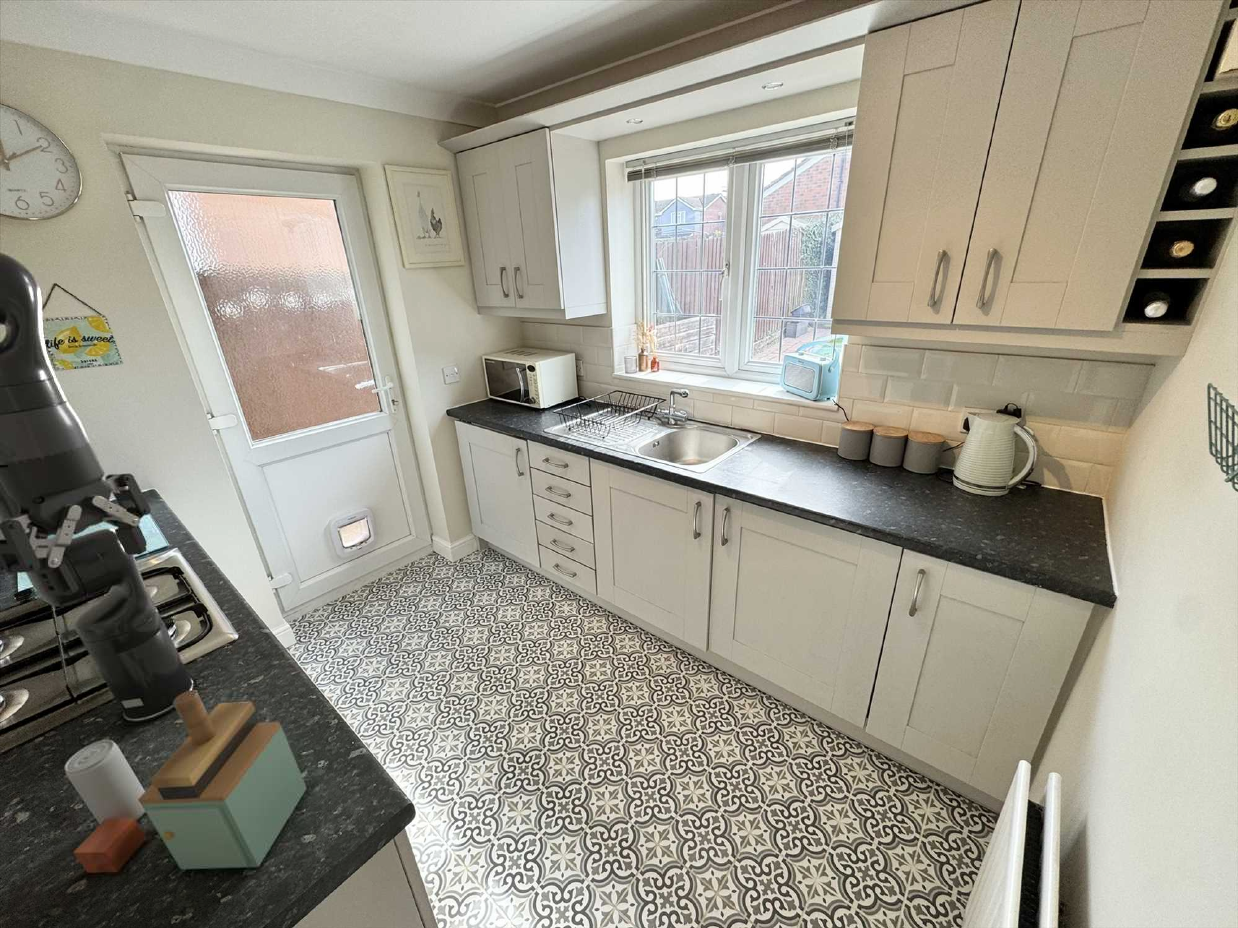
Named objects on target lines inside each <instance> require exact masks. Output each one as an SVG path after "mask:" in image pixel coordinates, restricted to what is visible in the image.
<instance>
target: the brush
mask: <svg viewBox="0 0 1238 928" xmlns="http://www.w3.org/2000/svg"><path fill="white" fill-rule="evenodd" d="M173 704H174V706H175V708H174V709H175V710H176V712H177V714H178V715H179V718H180V720H181V721H182V724H183V725H184V727H185V729H186V731H187V733H188V737H187V738H186V739H185V740H184V742H183V743H182V744H181V745H180V746H179V747H178V748H177V749H176V750H175V751H174V753H172V755H170V757H169V758H168V759H167V760H166V761H165V762H164V763H163V764H162V766H161V767H159V769H158V770H157V771H156V772H155V774H154V775H152V777H151V778H150V782H151V783H152V784H153V785H154V787H155V788H157V789H158V791H159V793H160V794H161V796H162V798H163V799H164V800H173V799H190V798H199V796H200V795H201V794H202V793H203V791H204V790H205V789H206V788H207V786H208V785H209V784H210V782H211V781H212V780H213V779H214V777H215V776H216V775H217V774H218V772H219V771H220V770H221V768H222V767H223V766H224V765H225V763H226V762H227V761H228V760H229V758H230V757H231V756H232V754H233V753H234V752H235V751H236V749H237V748H238V747H239V746H240V744H241V743H242V742H243V740H244V739H245V738H246V737H247V735H248V734H249V733H250V732H251V730H252V729H253V728H254V726H255V725H256V724H257V723H259V717H258V715H257V713H256V708H255V705H254V703H253V701H239V702H222V703H217V705H216V707H214V709H213V710H211V712H210V713H208V711H207V709H206V707H205V705H204V703H203V701H202V699H201V696H200V695H199V692H198V690H195V689H194V690H190V691H187V692H184V693H182V694H181V695H179V696H178V697H177V698H175V700H174V701H173Z"/></svg>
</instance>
